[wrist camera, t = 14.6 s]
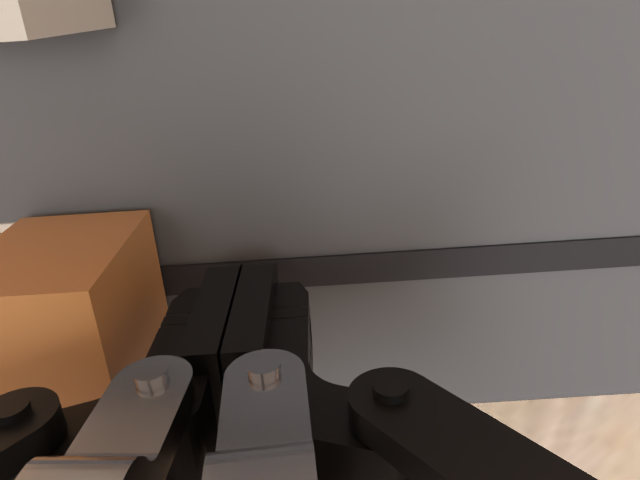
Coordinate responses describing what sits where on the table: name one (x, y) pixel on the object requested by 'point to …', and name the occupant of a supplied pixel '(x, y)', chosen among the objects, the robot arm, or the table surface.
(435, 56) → the console
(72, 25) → the fader
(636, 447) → the table surface
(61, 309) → the fader
